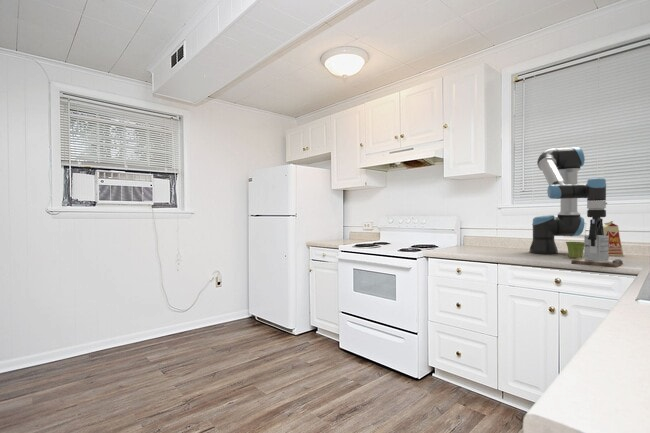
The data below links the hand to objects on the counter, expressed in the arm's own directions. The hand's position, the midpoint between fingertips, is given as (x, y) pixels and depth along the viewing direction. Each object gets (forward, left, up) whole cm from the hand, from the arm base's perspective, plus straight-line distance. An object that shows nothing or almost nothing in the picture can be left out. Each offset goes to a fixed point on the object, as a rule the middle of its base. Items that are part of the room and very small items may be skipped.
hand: (596, 251), depth 180 cm
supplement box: (0, 0, -5) cm, 5 cm away
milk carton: (-2, +44, -6) cm, 44 cm away
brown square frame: (0, 0, -6) cm, 6 cm away
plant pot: (-13, +18, -6) cm, 23 cm away
